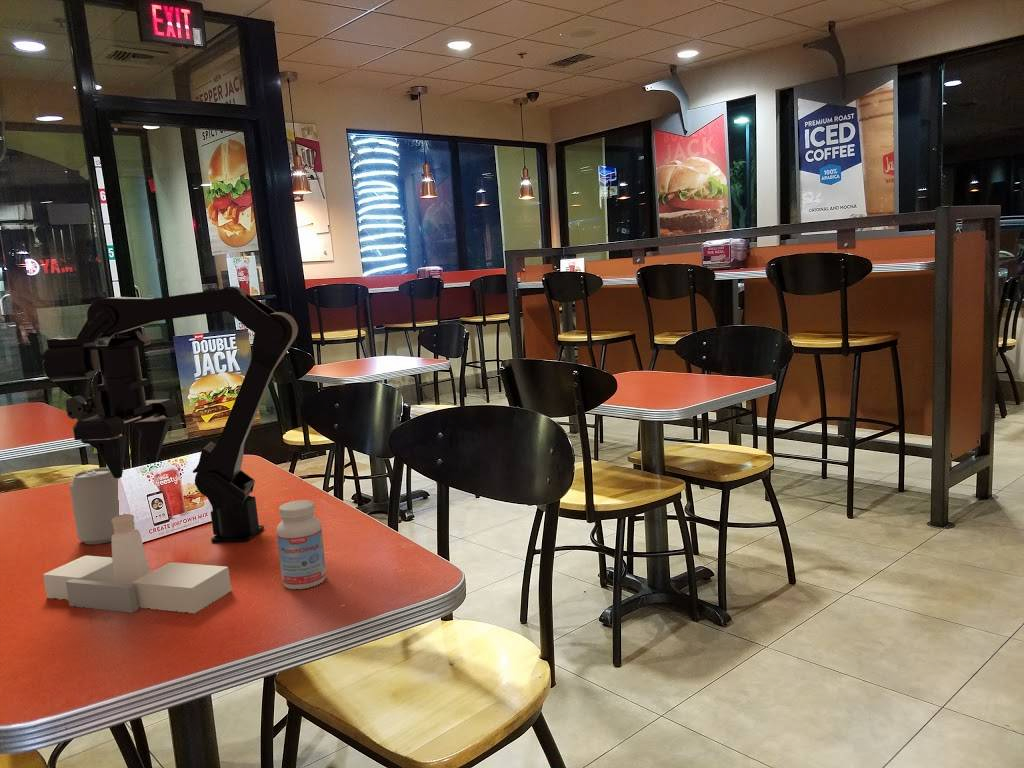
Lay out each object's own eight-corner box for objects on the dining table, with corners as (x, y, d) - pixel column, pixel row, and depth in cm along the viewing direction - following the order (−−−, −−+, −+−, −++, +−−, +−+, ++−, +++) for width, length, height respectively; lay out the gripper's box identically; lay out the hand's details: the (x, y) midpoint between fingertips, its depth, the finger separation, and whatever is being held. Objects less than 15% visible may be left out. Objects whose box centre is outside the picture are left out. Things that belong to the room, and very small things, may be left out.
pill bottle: (282, 594, 103) (272, 514, 101) (283, 577, 108) (274, 501, 107) (328, 586, 104) (319, 508, 102) (326, 570, 110) (318, 495, 108)
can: (91, 549, 126) (79, 479, 124) (71, 541, 131) (59, 474, 129) (135, 534, 132) (125, 468, 130) (115, 528, 137) (104, 463, 135)
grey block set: (231, 590, 105) (228, 566, 104) (186, 618, 97) (183, 593, 96) (88, 577, 113) (85, 555, 113) (37, 602, 106) (33, 578, 105)
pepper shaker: (122, 602, 103) (109, 525, 102) (106, 593, 107) (94, 518, 105) (161, 588, 107) (150, 514, 106) (145, 580, 111) (134, 507, 109)
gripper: (113, 369, 132) (127, 457, 134) (33, 387, 113) (50, 488, 116) (173, 366, 130) (185, 454, 132) (100, 384, 112) (116, 486, 114)
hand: (136, 469), depth 124 cm, fingers open, 9 cm apart
